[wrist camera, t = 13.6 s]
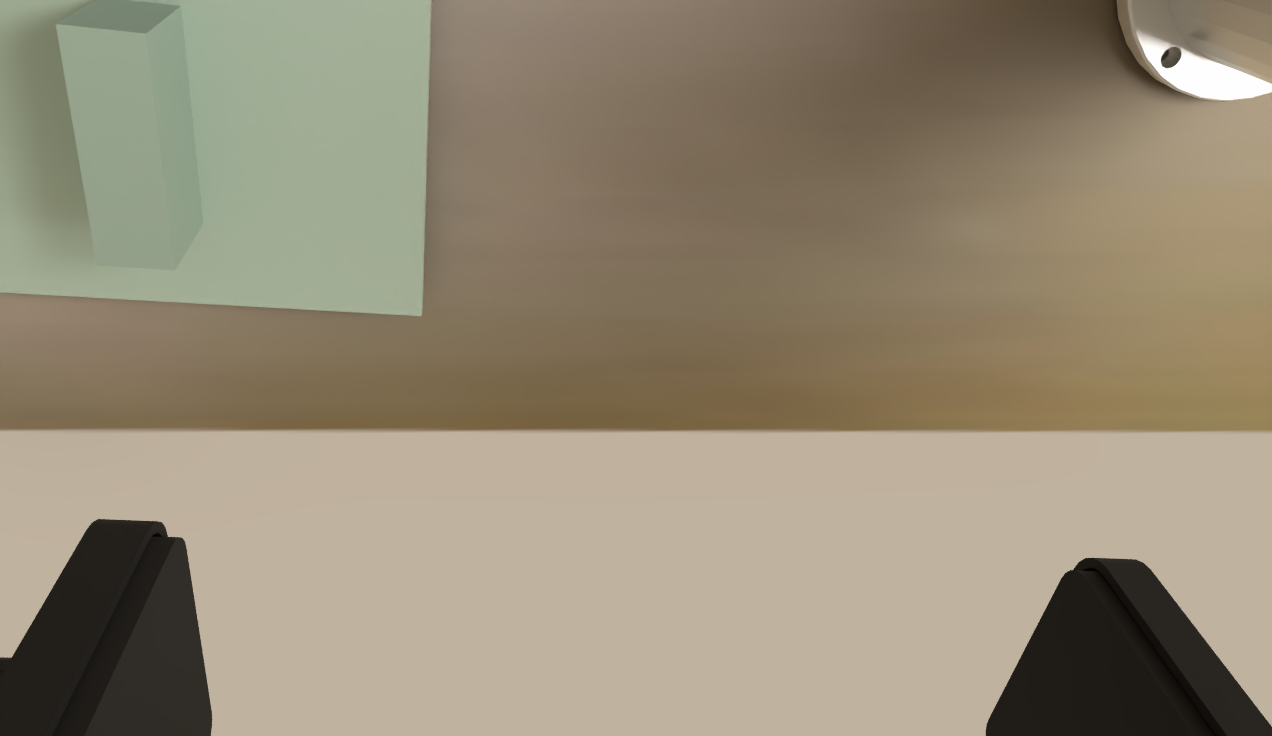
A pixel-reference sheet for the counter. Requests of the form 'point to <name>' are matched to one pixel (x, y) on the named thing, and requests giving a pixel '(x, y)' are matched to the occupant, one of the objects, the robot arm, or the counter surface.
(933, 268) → the counter surface
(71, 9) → the lid
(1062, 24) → the counter surface
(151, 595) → the robot arm
